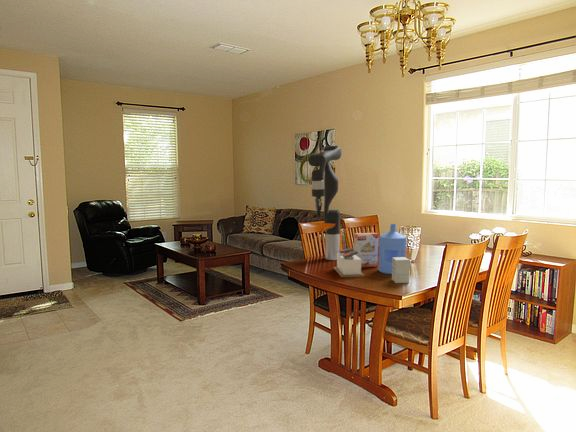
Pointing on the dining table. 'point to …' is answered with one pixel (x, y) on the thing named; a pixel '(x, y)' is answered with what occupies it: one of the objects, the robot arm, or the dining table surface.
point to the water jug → (390, 249)
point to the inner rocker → (346, 250)
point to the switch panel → (348, 266)
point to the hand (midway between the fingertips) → (318, 217)
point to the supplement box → (400, 269)
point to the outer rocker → (350, 254)
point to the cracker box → (366, 248)
